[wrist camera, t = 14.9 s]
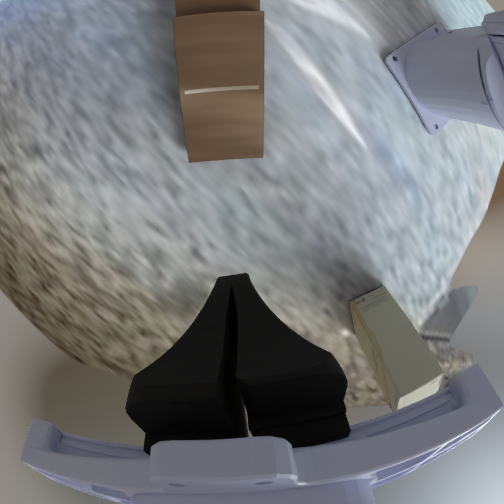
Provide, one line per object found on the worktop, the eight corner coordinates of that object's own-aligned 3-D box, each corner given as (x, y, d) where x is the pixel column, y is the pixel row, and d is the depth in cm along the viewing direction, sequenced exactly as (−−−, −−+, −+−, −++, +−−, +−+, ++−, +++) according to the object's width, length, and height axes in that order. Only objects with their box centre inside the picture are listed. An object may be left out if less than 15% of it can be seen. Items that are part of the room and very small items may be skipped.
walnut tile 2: (186, 87, 16) (178, -36, 9) (257, 82, 16) (256, -41, 9) (183, 92, 15) (174, -41, 8) (260, 86, 15) (259, -47, 8)
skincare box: (347, 300, 26) (397, 397, 16) (385, 283, 26) (446, 371, 15) (355, 336, 29) (394, 423, 19) (388, 321, 29) (434, 401, 18)
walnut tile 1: (191, 152, 18) (177, 18, 11) (260, 147, 19) (260, 12, 11) (188, 162, 17) (172, 17, 10) (263, 157, 18) (264, 11, 10)
